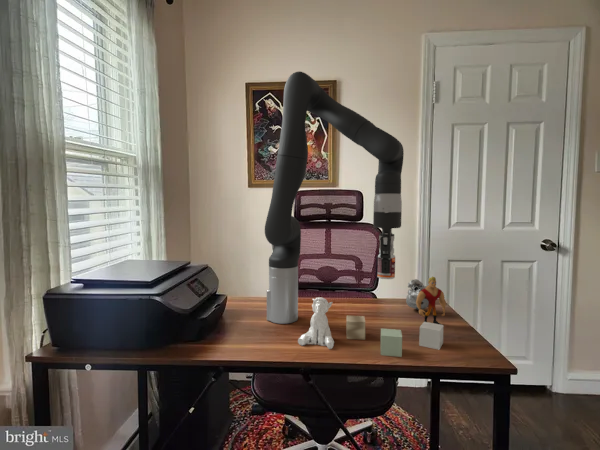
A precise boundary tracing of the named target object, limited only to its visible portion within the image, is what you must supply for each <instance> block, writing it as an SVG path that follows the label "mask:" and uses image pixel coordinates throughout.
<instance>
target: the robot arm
mask: <svg viewBox="0 0 600 450" xmlns="http://www.w3.org/2000/svg"><path fill="white" fill-rule="evenodd" d="M282 101H283V105H282V106H283V107H282V122H281V129H280V135H279V145H278V149H277V154H276V161H275V162H276V163H275V171H274V172H275V173H274V177H273V178H274V180H273V183H272V184H273V185H272V194H271V198H270V199H271V200H270V203H269V209H268V211H267V216H266V218H265V219H266V220H265V224H264V235H265V239H266V240H267V242H268V243H269V244H270V245H272V246H273V251H272V253H271V255H270V256H269V258H268V289H267V290H266V321H270V322H271V323H274V324H285V325H286V324H292V323H295V322H297V321H298V319H299V259H300V256H301V245H302V244H301V243H302V242H301V241H302V230H301V224H300V222H299V220H298V219H297V218H296V217H295V216H293V215H292V214H293V208H294V206H293V205H294V202H295V199H296V196H297V194H298V193H299V190H300V188H301V186H302V184H303V182H304V179H305V176H306V172H307V164H308V159H309V158H308V157H309V146H308V138H307V131H306V121H307V120H306V118H307V113H311V114H313V115H316V116H318V117H320V118H321V119H322V120H324V121H326V123H328V124H330V125H331V126H332V127H333V128H334V129H336V130H337V131H338V132H339V133H341V135H343V136H345V137H346V138H348V139H349V140H351V142H353V143H355V144H356V145H358V146H359V147H362V148H363V149H364V150H365V151H367V152H368V153H369V154H370V155H372V156H373V157H374V158H376V159H377V160H378V170H377V171H378V172H377V174H376V175H375V178H374V179H375V181H374V198H373V218H372V219H373V222H372V223H373V225H372V226H373V227H374V228H376V229H382V230H381V233H379V236H378V240H379V248H380V251H381V255H380V257H381V259H382V265H381V272H382V273H385V274H389V273H390V259H391V252H392V251H393V248H394V241H395V233H393V229H401V227H402V212H403V211H402V210H403V209H402V207H403V203H402V170H403V165H404V155H405V154H404V146H403V144H402V142H401V141H399V140H398V139H397V137H395V136H394V135H392V134H390V133H389V132H386V131H385V130H384V129H381V128H379V127H378V126H377V125H375V124H374V123H373V122H371V121H370V120H369V119H367V118H366V117H364V116H362V115H361V113H360V114H359V113H358V112H356V111H355V110H353V109H351V108H350V107H349V108H348V107H347V106H346V105H343V104H342V103H339V102H338V101H336V100H335V99H334V98H332V96H330V95H329V94H328V93H327V92H326V91H325V90H324V89H323V88H322V87H321V86H320V84H319V83H318V82H317V81H316V80H315V79H313V78H312V76H310V75H309V74H307V73H306V72H304V71H295V72H293V73H292V74H290V75H289V76H288V78H287V80H286V82H285V84H284V89H283V100H282ZM384 251H388V254H383V252H384Z"/></svg>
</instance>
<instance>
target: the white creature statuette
mask: <svg viewBox="0 0 600 450" xmlns="http://www.w3.org/2000/svg"><path fill="white" fill-rule="evenodd" d="M311 299H312V301H313V302H312V304H311V307H312V312H313V315H312V316H311V318H310V321H309V322H310V323H309V324H310V327H309V328H308V331H307V332H306V333H303V334H301V335H300V336H299V337H298V339H297V344H298V345H300V346H303V347H304V346H306V345H311V346H312V345H318V346H324V347H326V348H327V349H328V350H332V349H333V348H334V345H335V341H334V338H333V337H332V331H331V329H330V326H329V321H328V320H329V319H328V317H327V314H326V313H327V312H328V311H329V309H330V308H331V307H332V305H333V301H330V302H328V299H326V298H324V297H320V296H318V297H315V298H311Z"/></svg>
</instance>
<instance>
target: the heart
mask: <svg viewBox="0 0 600 450" xmlns="http://www.w3.org/2000/svg"><path fill="white" fill-rule="evenodd" d="M427 286H428V285H424V283H423V282H422V281H420V280H419V279H417V278H415V279H410V281H409V282H408V283H407V288H409V289H408V290H407V295H406V296H405V297H406V300H405V303H406V304H407V307H409V308H411V309H415V310H418V311H419V309H418V307H417V305H416V300H417V296H418V294H419V292H420V291H421V290H423V289H425V288H426V287H427ZM428 304H429V302H428V300H427V299H423V301H422V303H421V309H422V310H425V309H428Z"/></svg>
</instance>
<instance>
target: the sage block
mask: <svg viewBox="0 0 600 450" xmlns="http://www.w3.org/2000/svg"><path fill="white" fill-rule="evenodd" d="M380 356H387V357H399V358H403V357H402V356H403V333H402V330H401V329H394V328H393V329H392V328H381V327H380Z"/></svg>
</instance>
